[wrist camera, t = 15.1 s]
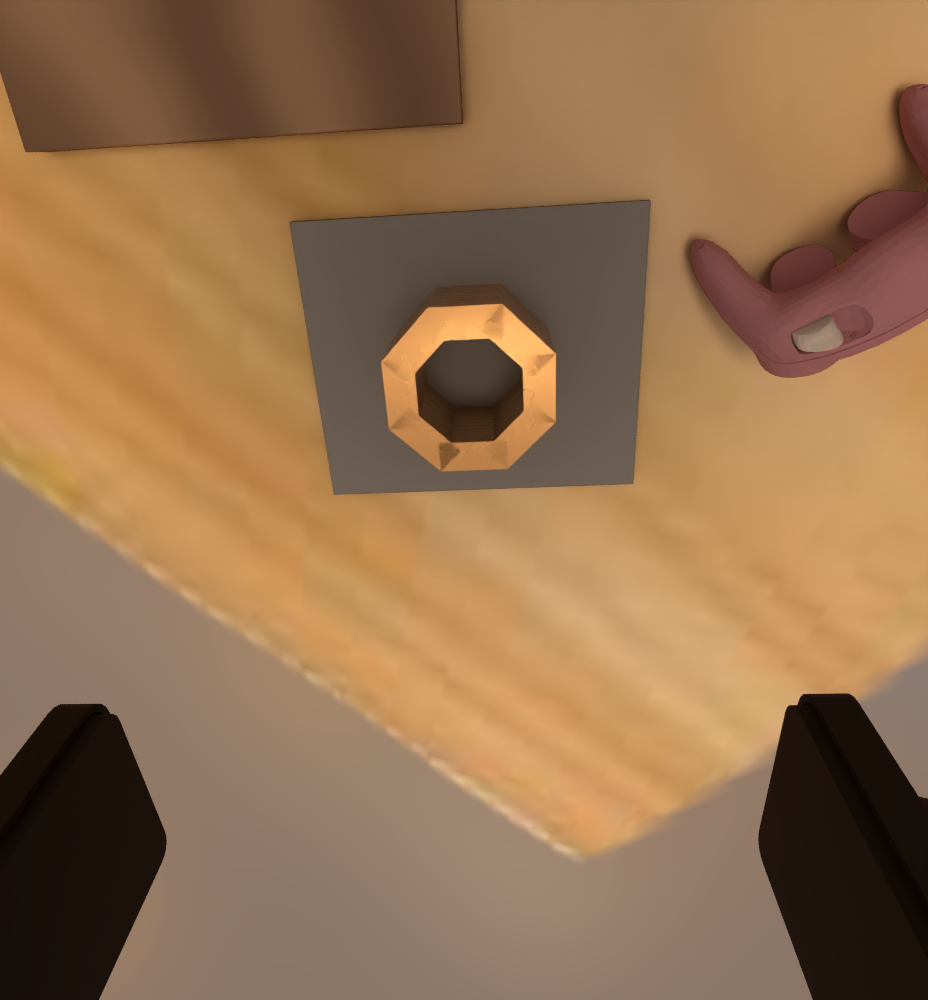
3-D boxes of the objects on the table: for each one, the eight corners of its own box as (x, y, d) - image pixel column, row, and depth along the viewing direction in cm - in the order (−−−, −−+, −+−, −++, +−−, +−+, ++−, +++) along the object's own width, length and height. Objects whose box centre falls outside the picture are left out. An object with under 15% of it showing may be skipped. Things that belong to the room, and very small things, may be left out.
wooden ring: (547, 281, 27) (555, 301, 24) (547, 429, 30) (555, 467, 27) (389, 289, 28) (374, 310, 24) (405, 435, 31) (394, 473, 27)
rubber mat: (648, 200, 26) (650, 200, 26) (631, 480, 32) (633, 483, 31) (291, 221, 27) (289, 222, 27) (335, 490, 33) (333, 494, 32)
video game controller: (707, 317, 30) (795, 422, 25) (671, 244, 27) (765, 350, 22) (933, 163, 27) (1079, 252, 22) (923, 60, 24) (1092, 140, 19)
